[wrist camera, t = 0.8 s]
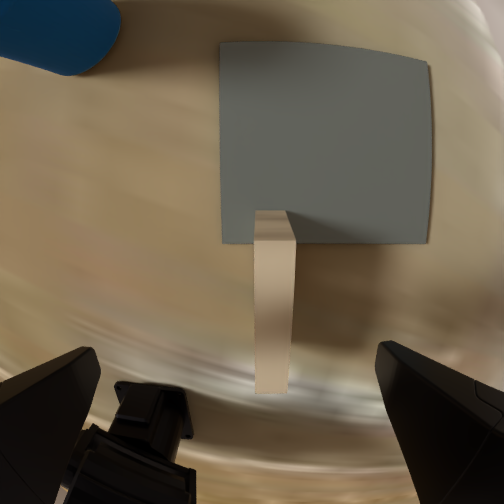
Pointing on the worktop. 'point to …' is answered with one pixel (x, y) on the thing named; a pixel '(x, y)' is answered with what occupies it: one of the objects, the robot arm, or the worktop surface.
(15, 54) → the beverage can
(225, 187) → the mat
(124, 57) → the worktop surface
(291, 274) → the rectangular block
